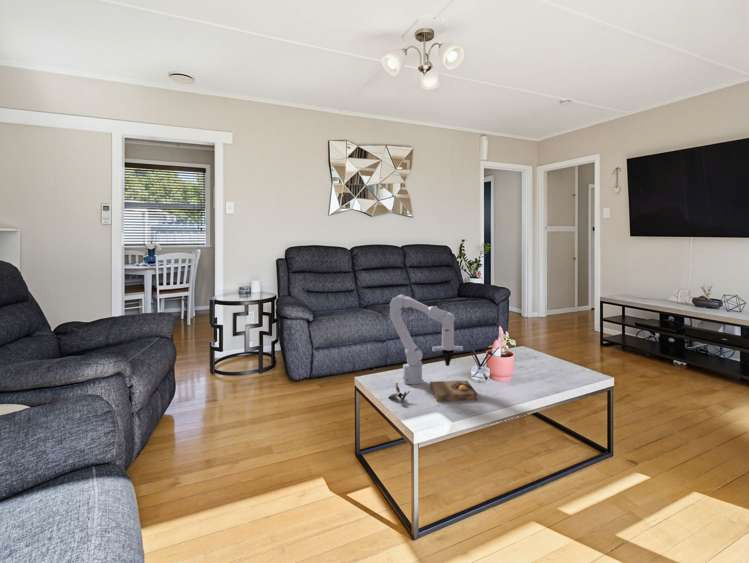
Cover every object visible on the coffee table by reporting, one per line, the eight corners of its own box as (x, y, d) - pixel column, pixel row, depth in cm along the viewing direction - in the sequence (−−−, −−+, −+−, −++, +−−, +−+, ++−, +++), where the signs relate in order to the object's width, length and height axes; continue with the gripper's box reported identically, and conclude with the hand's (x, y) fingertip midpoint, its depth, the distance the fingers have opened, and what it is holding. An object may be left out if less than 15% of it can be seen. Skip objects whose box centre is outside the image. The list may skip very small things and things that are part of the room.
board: (436, 401, 177) (437, 394, 176) (430, 387, 193) (430, 381, 192) (477, 400, 178) (477, 393, 177) (467, 386, 194) (467, 380, 193)
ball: (469, 392, 183) (462, 396, 183) (467, 389, 187) (460, 393, 187) (465, 384, 183) (457, 389, 183) (463, 382, 187) (455, 386, 187)
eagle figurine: (412, 396, 180) (398, 387, 186) (408, 386, 176) (394, 377, 182) (401, 408, 176) (387, 399, 183) (396, 399, 172) (382, 389, 179)
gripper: (434, 340, 189) (434, 368, 191) (464, 339, 190) (464, 367, 191) (431, 336, 196) (431, 363, 198) (460, 335, 197) (460, 362, 198)
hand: (447, 365), depth 195 cm, fingers closed
